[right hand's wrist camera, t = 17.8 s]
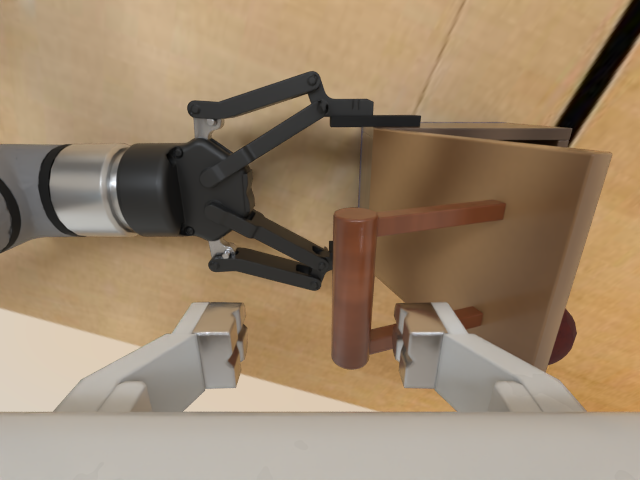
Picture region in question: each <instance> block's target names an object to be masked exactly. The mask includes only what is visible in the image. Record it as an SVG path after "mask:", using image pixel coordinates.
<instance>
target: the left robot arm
mask: <svg viewBox="0 0 640 480" xmlns="http://www.w3.org/2000/svg"><path fill="white" fill-rule="evenodd" d="M305 94H308V96H309V98H310V101H311V105H309V106H307V107H306V108H304V109H303V110H301V111H300V112H298V113H296V114H295V115H293V116H292V117H290V118H289V119H287V120H285V121H284V122H282V123H281V124H279V125H278V126H276V127H274V128H273V129H271V130H270V131H268V132H267V133H265V134H263V135H262V136H260V137H259V138H257V139H255V140H254V141H252V142H251V143H249V144H248V145H246V146H244V147H243V148H241V149H239V150H238V151H236V152H235V153H233V152H231V151H230V150H228V149H227V148H225V147H224V146H222V145H221V144H220V143H218V142H217V141H215V140H214V139H212V138H211V136H212V133H213V131H215V130H217V129H221V128H222V127H223V126H224V119H226V118H234V117H238V116H241V115H244V114H247V113H250V112H253V111H256V110H259V109H262V108H265V107H268V106H271V105H275V104H278V103H281V102H284V101H287V100H290V99H293V98H296V97H299V96H302V95H305ZM373 103H374V102H373V101H370V100H368V99H332V98H330V97H328V96H327V95H326V93H325V91H324V88H323V85H322V82H321V79H320V76H319V74H318V73H316V72H314V71H310V72H307V73H304V74H301V75H298V76H295V77H292V78H289V79H286V80H283V81H280V82H277V83H274V84H271V85H268V86H265V87H262V88H259V89H256V90H253V91H250V92H247V93H244V94H241V95H238V96H235V97H232V98H229V99H226V100H223V101H220V102H211V101H191V102H190V103H189V104H188V107H187V110H188V113H189V114H190V116H192V117H193V118H194V130H195V138H194V139H192V140H191V141H189V142H188V143H139V144H134V145H132V146H130V145H127V144H66V145H27V144H0V253H2V252H4V251H7V250H9V249H11V248H13V247H15V246H17V245H20V244H22V243H24V242H26V241H28V240H31V239H35V238H40V237H77V236H78V237H86V236H96V237H133V236H136V235H141V236H145V237H163V236H198V237H201V238H203V239H205V240H207V241H209V246H210V251H211V256H212V259H211V260H210V262H209V264H208V266H209V269H210V270H211V271H213V272H225V271H238V272H242V273H246V274H250V275H254V276H258V277H262V278H266V279H270V280H274V281H277V282H281V283H285V284H289V285H293V286H297V287H301V288H305V289H309V290H313V291H316V290H318V289H320V287H321V282H322V280H323V278H324V275H325V273H326V272H328V271H330V270H333V241H329V251H328V249H327V248H326V247H324V249H323V248H321V247H320V246H318V245H316V244H314V243H312V242H310V241H308V240H306V239H304V238H303V237H301V236H299V235H297V234H295V233H293V232H291V231H289V230H288V229H286V228H284V227H282V226H280V225H278V224H276V223H274V222H273V221H271V220H269V219H267V218H265V217H264V215H263V214H261V213H260V212H258V211H256V210H254V209H253V207H254V206H255V202H254V195H253V192H252V189H251V185H252V180H253V176H252V170H250V168H249V166H248V164H249V163H251V162H252V161H254V160H255V159H257V158H258V157H260V156H262V155H263V154H265V153H266V152H268V151H270V150H271V149H273V148H275V147H276V146H278V145H279V144H281V143H283V142H284V141H286V140H287V139H289V138H291V137H292V136H294V135H295V134H297V133H299V132H300V131H302V130H303V129H305V128H307V127H308V126H310V125H312V124H313V123H315V122H316V121H318V120H320V119H321V118H323V117H330V126H331V127H420V121H421V116H417V115H373ZM232 230H234V231H236V232H238V233H240V234H242V235H244V236H245V237H248V238H254V239H257V240H259V241H261V242H262V243H264V244H266V245H268V246H270V247H272V248H274V249H276V250H278V251H280V252H282V253H284V254H286V255H288V256H290V257H291V258H293V259H295V260H297V261H299V262H297V261H293V260H289V259H285V258H281V257H278V256H274V255H270V254H266V253H262V252H259V251H255V250H251V249H247V248H237V247H236V246H235V244H234V243H229V242H226V241H225V240H224V239H223V237H224V236H225V235H226V234H228V233H229V232H230V231H232ZM300 262H301V263H300Z"/></svg>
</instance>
